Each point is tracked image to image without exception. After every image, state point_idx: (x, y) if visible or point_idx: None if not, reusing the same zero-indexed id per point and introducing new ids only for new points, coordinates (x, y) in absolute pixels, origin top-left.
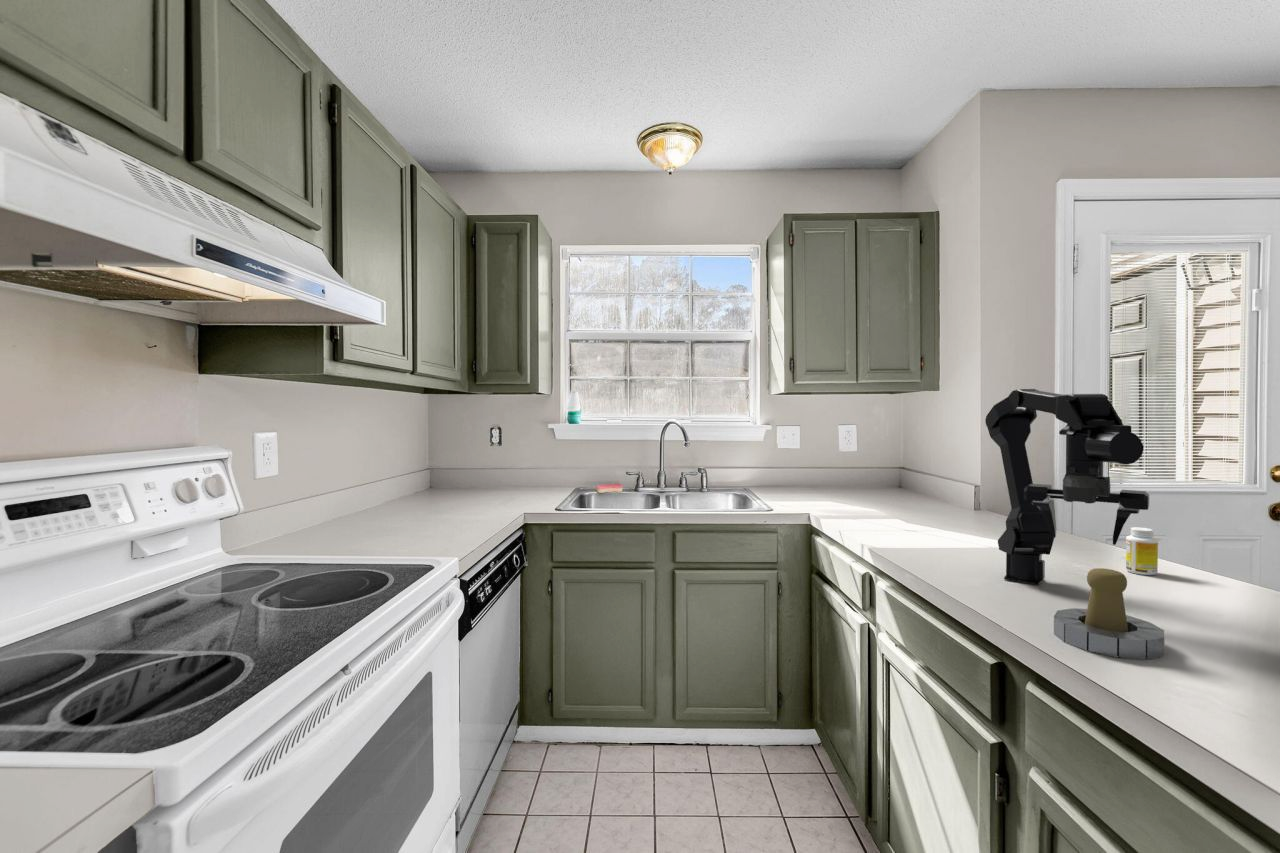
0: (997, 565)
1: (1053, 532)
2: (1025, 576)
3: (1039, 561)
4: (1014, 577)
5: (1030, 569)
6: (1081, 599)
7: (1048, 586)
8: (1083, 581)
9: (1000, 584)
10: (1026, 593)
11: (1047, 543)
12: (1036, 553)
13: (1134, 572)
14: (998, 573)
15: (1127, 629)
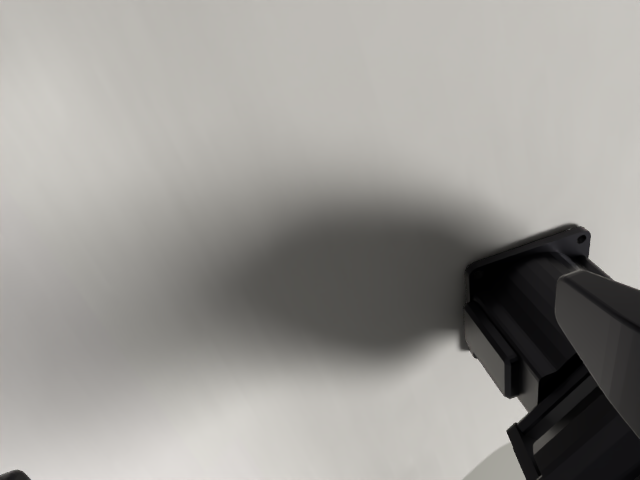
0: None
1: (616, 299)
2: (526, 274)
3: (521, 361)
4: (557, 255)
5: (529, 306)
6: (281, 238)
7: (432, 292)
8: (364, 436)
9: (586, 154)
10: (474, 117)
11: (549, 449)
12: (556, 390)
13: None
14: None
15: None
